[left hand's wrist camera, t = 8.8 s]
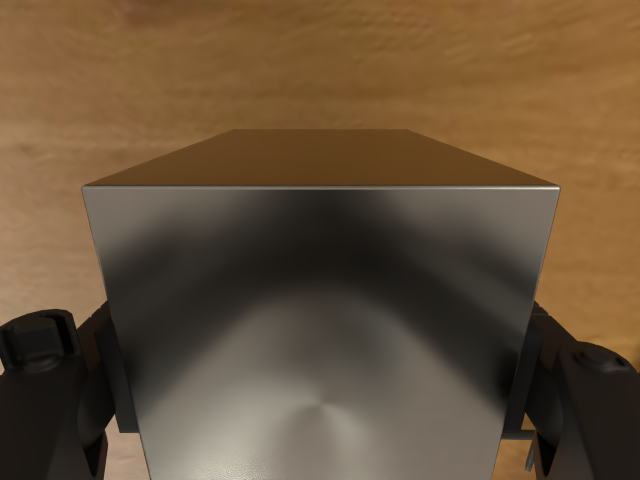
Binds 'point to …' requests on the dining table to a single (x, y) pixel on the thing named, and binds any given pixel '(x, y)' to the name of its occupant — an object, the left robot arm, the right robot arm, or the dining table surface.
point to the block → (320, 303)
